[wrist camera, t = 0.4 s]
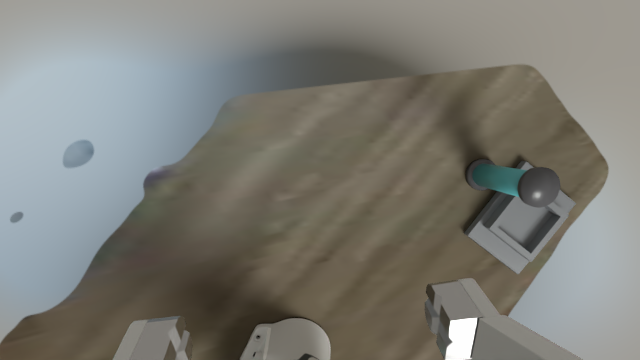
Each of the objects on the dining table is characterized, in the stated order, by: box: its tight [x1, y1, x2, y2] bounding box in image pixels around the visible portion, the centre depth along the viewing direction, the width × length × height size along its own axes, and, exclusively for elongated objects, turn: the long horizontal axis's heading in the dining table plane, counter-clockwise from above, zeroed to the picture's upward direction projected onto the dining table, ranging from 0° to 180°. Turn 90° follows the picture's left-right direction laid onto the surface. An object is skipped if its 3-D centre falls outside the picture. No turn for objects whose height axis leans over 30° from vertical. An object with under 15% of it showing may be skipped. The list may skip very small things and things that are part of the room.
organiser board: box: [464, 161, 576, 274], centre depth 66 cm, size 18×14×4 cm
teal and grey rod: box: [466, 159, 560, 208], centre depth 58 cm, size 6×6×16 cm
